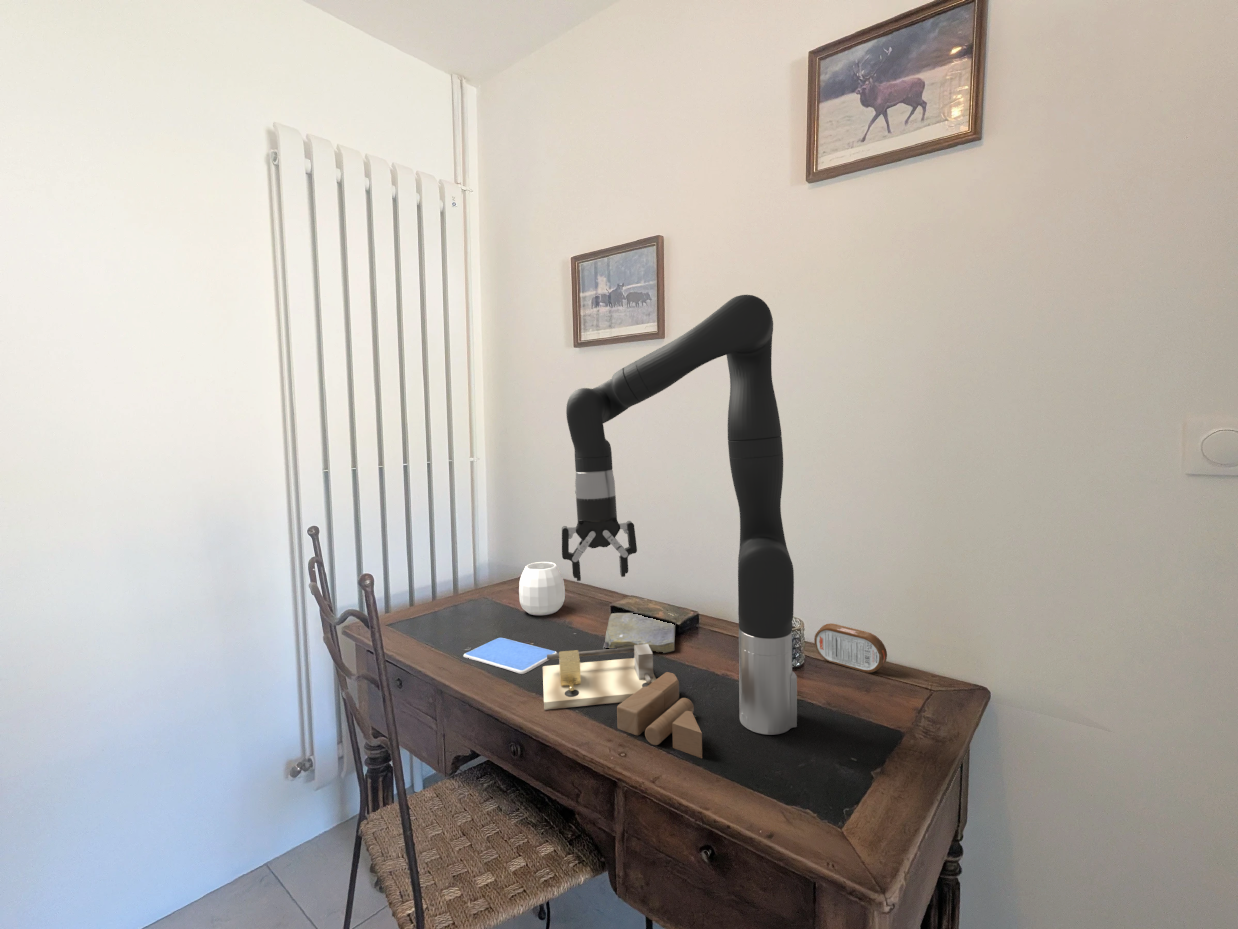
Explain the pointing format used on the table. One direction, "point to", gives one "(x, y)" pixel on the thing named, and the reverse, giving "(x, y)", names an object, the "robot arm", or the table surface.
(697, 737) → the wooden block set
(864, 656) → the tin
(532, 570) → the white faceted vase
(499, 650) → the tablet computer
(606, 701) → the cream panel
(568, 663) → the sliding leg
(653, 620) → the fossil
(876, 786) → the table surface
